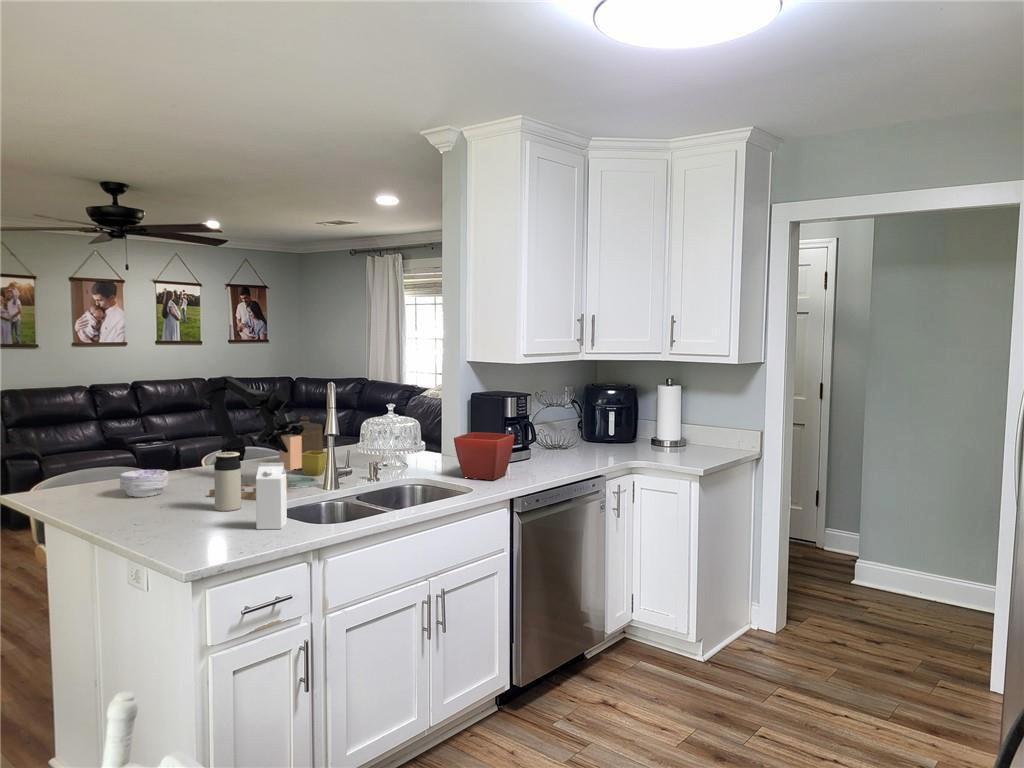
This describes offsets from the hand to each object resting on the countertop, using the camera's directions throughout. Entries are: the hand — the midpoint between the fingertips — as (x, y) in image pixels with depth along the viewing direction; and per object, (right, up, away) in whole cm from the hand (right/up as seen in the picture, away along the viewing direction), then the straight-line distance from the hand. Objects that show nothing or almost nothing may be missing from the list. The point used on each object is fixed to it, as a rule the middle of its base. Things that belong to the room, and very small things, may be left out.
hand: (293, 450), depth 271 cm
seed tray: (-18, -14, -13) cm, 26 cm away
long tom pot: (-1, -7, +1) cm, 7 cm away
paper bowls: (-48, -14, -15) cm, 52 cm away
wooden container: (-7, -11, +41) cm, 43 cm away
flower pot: (+1, -12, +25) cm, 28 cm away
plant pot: (+70, -13, +24) cm, 75 cm away
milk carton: (+10, -18, -55) cm, 58 cm away
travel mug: (-11, -16, -34) cm, 39 cm away
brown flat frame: (-13, -14, -9) cm, 21 cm away
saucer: (+1, -13, +6) cm, 14 cm away
